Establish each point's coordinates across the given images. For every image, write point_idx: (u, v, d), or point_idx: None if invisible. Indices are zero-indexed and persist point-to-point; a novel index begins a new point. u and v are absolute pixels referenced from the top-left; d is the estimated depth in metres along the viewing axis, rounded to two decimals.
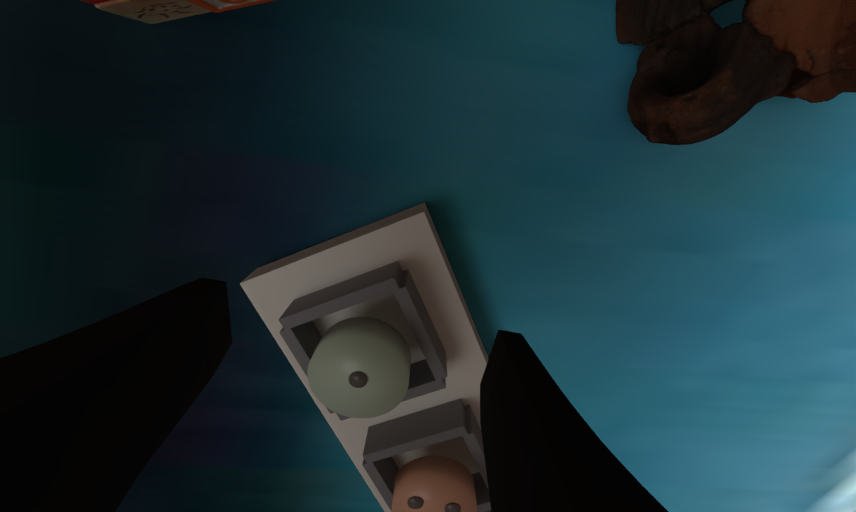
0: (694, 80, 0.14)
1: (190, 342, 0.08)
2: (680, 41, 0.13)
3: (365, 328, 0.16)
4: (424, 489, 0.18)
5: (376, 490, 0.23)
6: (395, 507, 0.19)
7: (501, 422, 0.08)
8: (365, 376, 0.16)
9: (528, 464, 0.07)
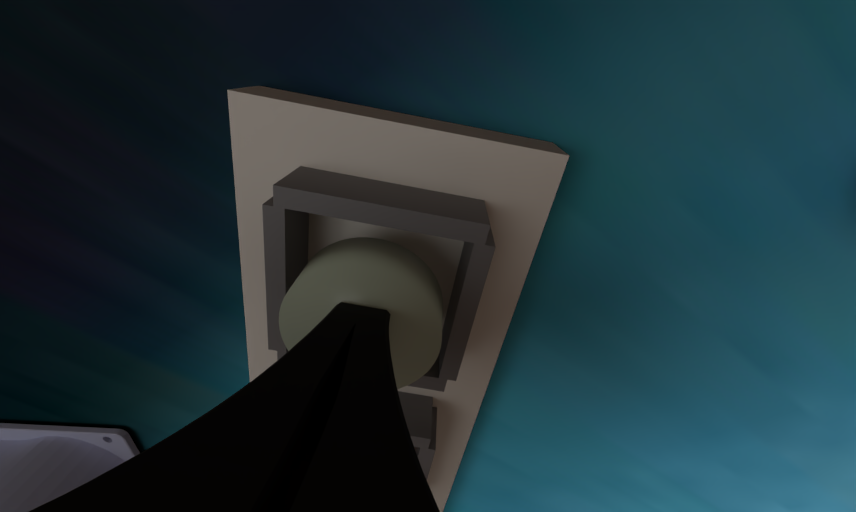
0: None
1: (345, 368, 0.08)
2: None
3: (414, 272, 0.10)
4: None
5: None
6: None
7: None
8: None
9: None
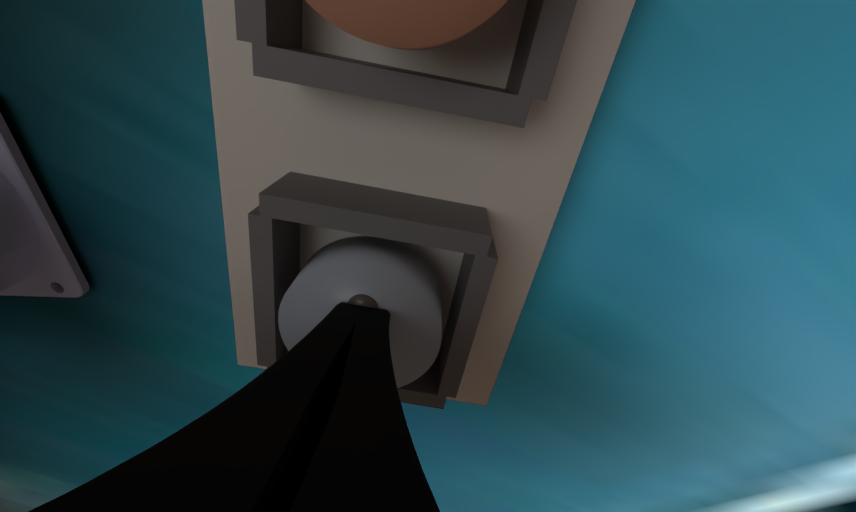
0: None
1: (345, 368, 0.08)
2: None
3: None
4: None
5: None
6: None
7: None
8: None
9: None
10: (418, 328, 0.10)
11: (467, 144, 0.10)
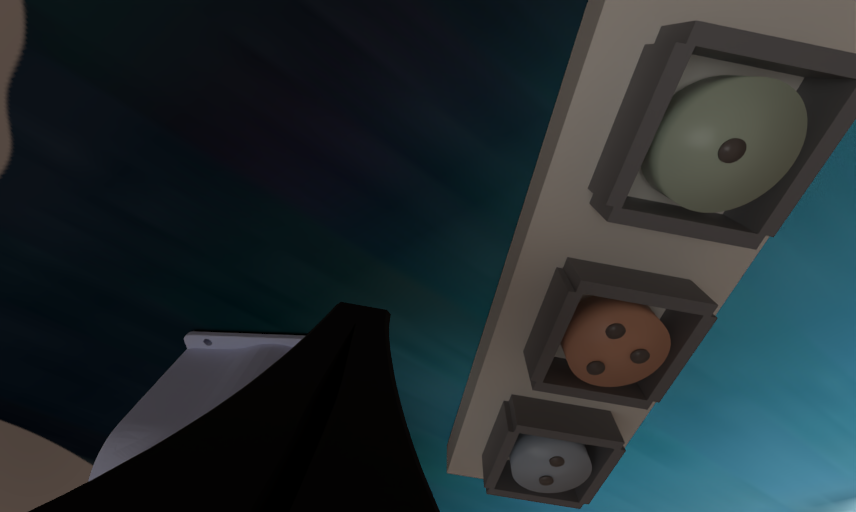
0: None
1: (345, 368, 0.08)
2: None
3: None
4: (639, 321, 0.16)
5: (499, 334, 0.19)
6: (589, 326, 0.16)
7: None
8: (745, 151, 0.12)
9: None
10: (580, 469, 0.20)
11: None
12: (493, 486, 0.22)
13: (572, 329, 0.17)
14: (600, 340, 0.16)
